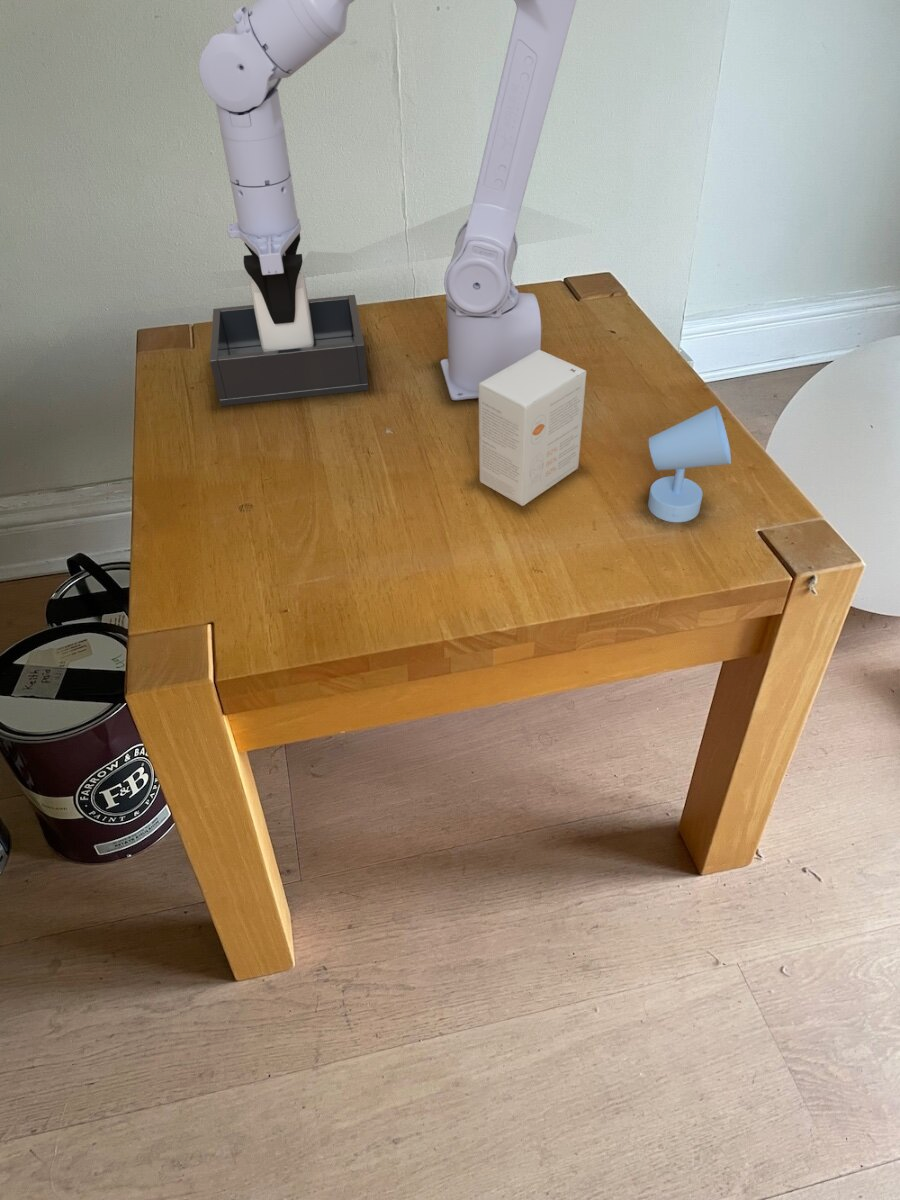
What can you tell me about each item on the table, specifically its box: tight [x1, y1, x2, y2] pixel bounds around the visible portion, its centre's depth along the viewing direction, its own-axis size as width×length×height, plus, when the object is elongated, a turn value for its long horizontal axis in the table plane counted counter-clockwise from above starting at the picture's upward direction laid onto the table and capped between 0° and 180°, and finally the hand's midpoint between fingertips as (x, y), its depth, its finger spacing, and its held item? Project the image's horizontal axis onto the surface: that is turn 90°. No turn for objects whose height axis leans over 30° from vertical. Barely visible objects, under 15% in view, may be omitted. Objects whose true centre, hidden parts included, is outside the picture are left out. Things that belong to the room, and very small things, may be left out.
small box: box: [478, 350, 588, 507], centre depth 79 cm, size 8×6×10 cm
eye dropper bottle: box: [249, 252, 314, 352], centre depth 91 cm, size 4×6×12 cm
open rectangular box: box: [209, 294, 370, 407], centre depth 96 cm, size 16×12×5 cm
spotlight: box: [647, 405, 732, 523], centre depth 75 cm, size 5×10×7 cm
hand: (283, 312), depth 93 cm, fingers closed on eye dropper bottle, 3 cm apart
